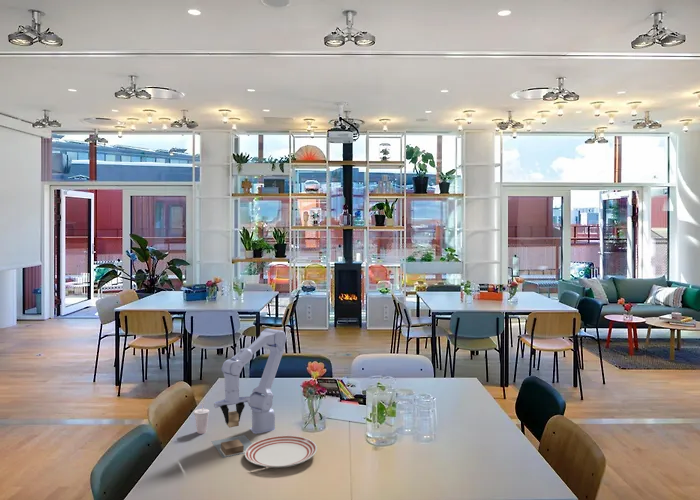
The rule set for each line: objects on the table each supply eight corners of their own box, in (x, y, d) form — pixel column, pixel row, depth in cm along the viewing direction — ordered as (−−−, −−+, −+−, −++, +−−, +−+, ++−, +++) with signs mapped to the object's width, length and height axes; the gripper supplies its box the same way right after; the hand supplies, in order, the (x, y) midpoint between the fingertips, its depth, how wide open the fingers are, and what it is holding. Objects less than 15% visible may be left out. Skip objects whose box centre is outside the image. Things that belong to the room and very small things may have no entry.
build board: (244, 436, 223) (244, 434, 223) (258, 451, 208) (258, 450, 208) (211, 442, 217) (211, 441, 217) (223, 459, 201) (223, 457, 201)
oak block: (236, 422, 220) (235, 410, 220) (238, 425, 217) (238, 413, 217) (226, 424, 218) (226, 412, 218) (229, 427, 215) (228, 415, 215)
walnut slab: (238, 445, 212) (238, 439, 212) (243, 451, 206) (243, 445, 206) (221, 449, 209) (220, 442, 209) (225, 455, 203) (225, 449, 203)
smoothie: (205, 436, 223) (205, 403, 222) (191, 435, 224) (191, 402, 224) (212, 431, 229) (211, 399, 229) (198, 430, 231) (198, 398, 230)
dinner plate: (257, 480, 184) (257, 470, 184) (236, 450, 208) (236, 442, 208) (329, 464, 197) (329, 455, 197) (301, 438, 221) (300, 430, 221)
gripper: (246, 384, 224) (246, 415, 225) (211, 389, 217) (212, 422, 218) (251, 388, 218) (251, 421, 218) (216, 394, 211) (216, 427, 212)
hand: (232, 421), depth 218 cm, fingers closed on oak block, 4 cm apart
